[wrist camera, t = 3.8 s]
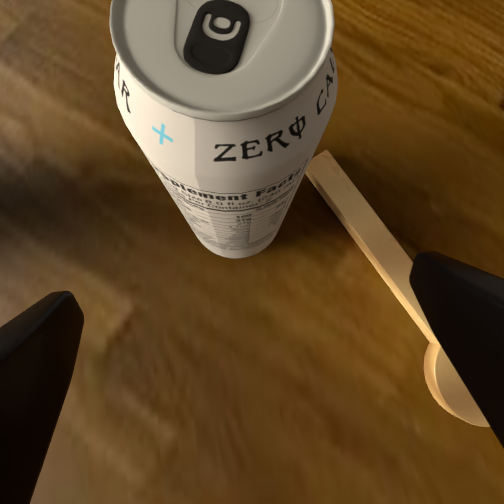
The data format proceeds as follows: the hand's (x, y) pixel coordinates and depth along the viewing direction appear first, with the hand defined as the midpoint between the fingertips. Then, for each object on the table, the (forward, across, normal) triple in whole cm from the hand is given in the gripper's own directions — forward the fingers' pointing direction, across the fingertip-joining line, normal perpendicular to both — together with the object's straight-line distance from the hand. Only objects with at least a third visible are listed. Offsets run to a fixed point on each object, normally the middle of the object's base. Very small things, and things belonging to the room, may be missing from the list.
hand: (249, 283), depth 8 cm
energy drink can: (+13, 0, +5) cm, 14 cm away
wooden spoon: (+8, -11, +9) cm, 17 cm away
